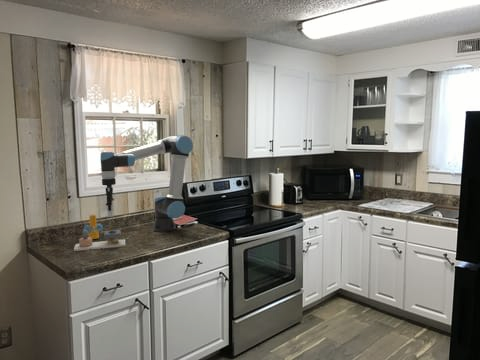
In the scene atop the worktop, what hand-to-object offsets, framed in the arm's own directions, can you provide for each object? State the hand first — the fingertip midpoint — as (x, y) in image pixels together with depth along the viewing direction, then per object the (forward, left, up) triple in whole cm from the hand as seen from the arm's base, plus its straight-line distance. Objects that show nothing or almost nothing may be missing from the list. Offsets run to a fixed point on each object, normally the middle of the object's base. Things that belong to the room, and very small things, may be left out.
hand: (110, 213), depth 225 cm
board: (+7, 0, -19) cm, 20 cm away
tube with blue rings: (+12, -20, -19) cm, 30 cm away
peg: (+15, 0, -18) cm, 23 cm away
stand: (0, 0, -17) cm, 18 cm away
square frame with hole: (0, 0, -14) cm, 14 cm away
